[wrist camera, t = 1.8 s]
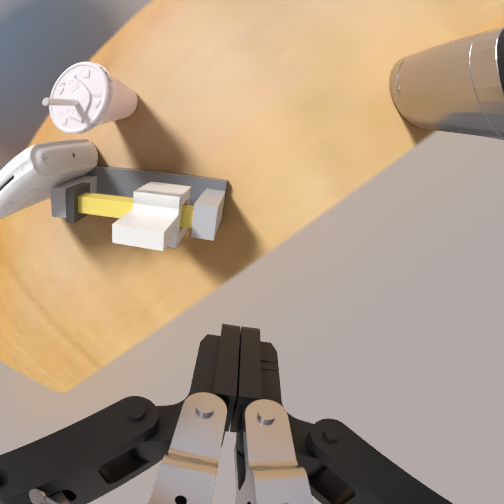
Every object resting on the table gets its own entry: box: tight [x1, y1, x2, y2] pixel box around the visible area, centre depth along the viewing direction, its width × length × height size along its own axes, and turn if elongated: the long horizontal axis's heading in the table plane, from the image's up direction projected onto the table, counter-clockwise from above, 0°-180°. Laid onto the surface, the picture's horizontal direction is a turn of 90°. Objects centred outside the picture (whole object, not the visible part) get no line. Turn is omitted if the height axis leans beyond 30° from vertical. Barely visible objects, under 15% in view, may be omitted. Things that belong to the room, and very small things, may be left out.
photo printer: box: [0, 139, 98, 219], centre depth 23 cm, size 10×4×12 cm, turn 111°
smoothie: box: [43, 62, 138, 134], centre depth 20 cm, size 6×6×14 cm
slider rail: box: [51, 166, 228, 241], centre depth 27 cm, size 17×5×8 cm, turn 80°
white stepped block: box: [112, 182, 191, 251], centre depth 23 cm, size 4×4×8 cm
